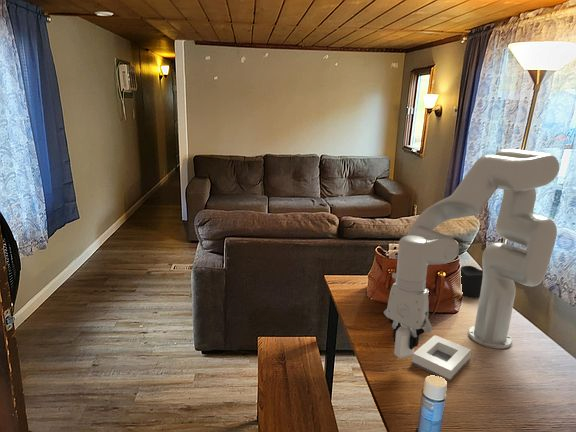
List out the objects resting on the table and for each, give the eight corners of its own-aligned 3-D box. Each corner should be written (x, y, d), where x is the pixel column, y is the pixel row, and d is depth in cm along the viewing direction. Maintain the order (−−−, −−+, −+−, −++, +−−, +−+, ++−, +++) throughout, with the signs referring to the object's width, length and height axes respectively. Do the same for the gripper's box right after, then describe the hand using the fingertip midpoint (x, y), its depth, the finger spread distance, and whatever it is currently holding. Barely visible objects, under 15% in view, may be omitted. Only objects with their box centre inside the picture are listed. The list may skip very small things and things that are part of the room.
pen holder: (478, 289, 169) (481, 266, 167) (486, 299, 160) (490, 275, 158) (454, 287, 170) (457, 265, 168) (461, 298, 161) (465, 274, 159)
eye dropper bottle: (416, 359, 113) (420, 319, 110) (395, 358, 113) (398, 318, 110) (412, 349, 117) (416, 311, 114) (392, 348, 118) (395, 310, 114)
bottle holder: (433, 345, 129) (434, 334, 128) (469, 360, 122) (471, 349, 121) (411, 364, 119) (413, 353, 118) (449, 381, 112) (451, 370, 111)
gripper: (375, 277, 112) (371, 337, 117) (434, 297, 101) (427, 362, 106) (389, 269, 117) (385, 327, 123) (447, 287, 106) (440, 350, 112)
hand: (405, 343), depth 114 cm, fingers closed on eye dropper bottle, 4 cm apart
